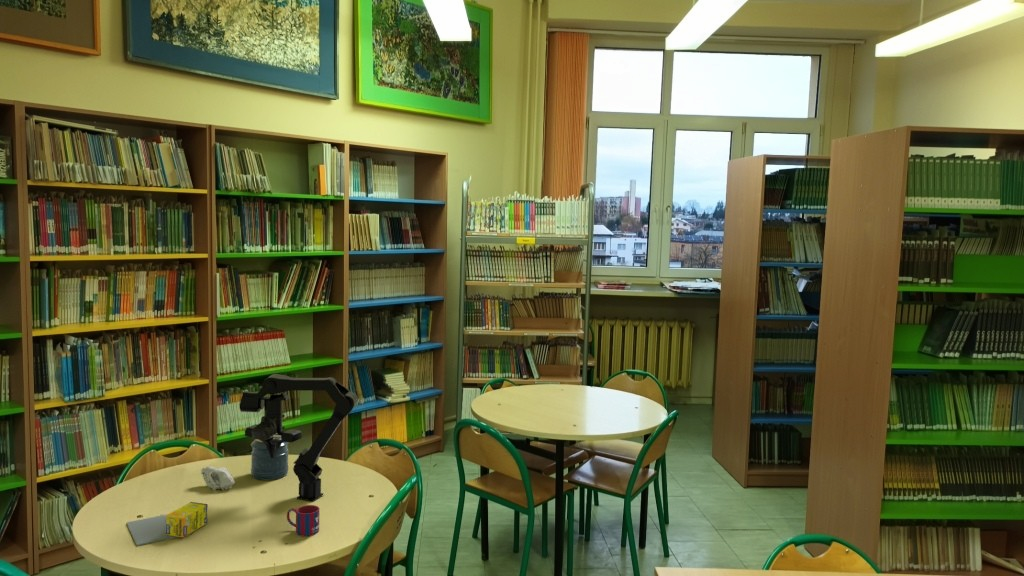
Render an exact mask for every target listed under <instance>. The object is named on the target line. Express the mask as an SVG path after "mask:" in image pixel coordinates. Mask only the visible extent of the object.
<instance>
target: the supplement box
mask: <svg viewBox="0 0 1024 576" xmlns="http://www.w3.org/2000/svg"><path fill="white" fill-rule="evenodd" d="M208 508H209V507H208V504H207V503H203V502H202V503H201V502H195V501H190V502H188V503H187V504H184V505H183V506H181V507H178V508H177V509H175V510H173V511H172V512H169V513H167V515H166V514H165V515H166V535H170V536H177V538H185V537H186V536H189V535H188V534H190V533H191V534H192V533H193V532H195V531H197V530H199V529H200V528H201V527H203V526H205V525H207V523H208Z"/></svg>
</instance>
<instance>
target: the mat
mask: <svg viewBox="0 0 1024 576" xmlns="http://www.w3.org/2000/svg"><path fill="white" fill-rule="evenodd" d="M167 514H168V513H167ZM167 514H163V515H156V516H152V517H146V518H142V519H136V520H132V521H127V522H126V524H127V525H126V526H127V528H128V530H129V532H130V534H131V537H132V538H133V541H134V543H135V546H136V547H139V546H145V545H149V544H153V543H158V542H164V541H167V540H171V539H176V538H178V537H177V536H170V535H166V515H167ZM190 535H192V532H191V533H190V534H188V535H187V536H190Z"/></svg>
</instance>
